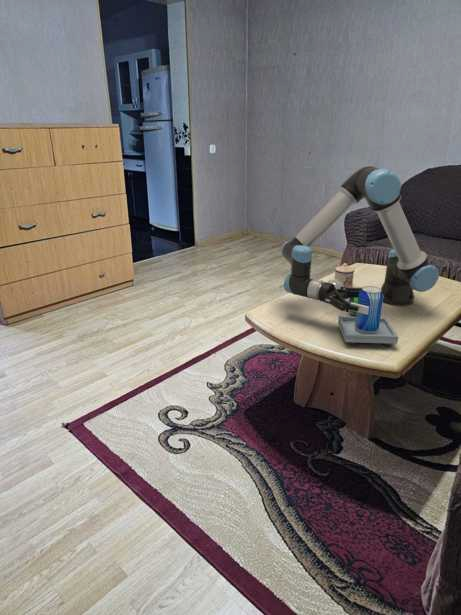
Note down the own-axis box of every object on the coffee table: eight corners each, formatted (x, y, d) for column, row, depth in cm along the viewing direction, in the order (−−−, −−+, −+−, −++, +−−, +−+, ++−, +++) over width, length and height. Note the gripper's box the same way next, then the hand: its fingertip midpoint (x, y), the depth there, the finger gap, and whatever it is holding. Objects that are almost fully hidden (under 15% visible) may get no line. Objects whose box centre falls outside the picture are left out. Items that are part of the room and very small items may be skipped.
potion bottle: (341, 306, 193) (314, 300, 204) (351, 289, 196) (324, 285, 207) (334, 293, 187) (306, 287, 198) (345, 276, 191) (317, 272, 201)
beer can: (351, 325, 164) (356, 285, 157) (373, 324, 164) (378, 284, 158) (359, 335, 156) (364, 293, 150) (381, 334, 157) (388, 293, 150)
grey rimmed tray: (384, 329, 168) (386, 317, 166) (396, 349, 154) (398, 336, 152) (337, 328, 170) (338, 316, 167) (344, 347, 155) (346, 335, 153)
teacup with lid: (344, 291, 206) (347, 267, 202) (329, 286, 212) (331, 263, 208) (359, 285, 213) (362, 262, 209) (344, 280, 220) (346, 258, 215)
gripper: (335, 291, 177) (387, 303, 165) (304, 310, 159) (360, 326, 147) (337, 273, 174) (389, 285, 162) (306, 291, 156) (362, 305, 144)
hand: (375, 304), depth 155 cm, fingers open, 13 cm apart
